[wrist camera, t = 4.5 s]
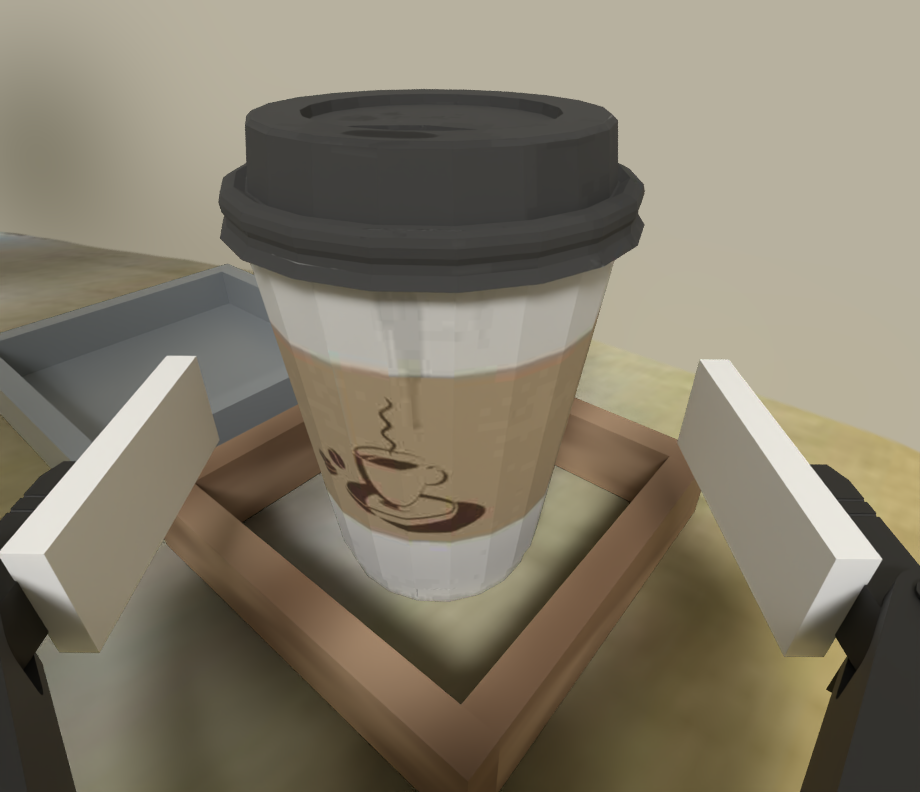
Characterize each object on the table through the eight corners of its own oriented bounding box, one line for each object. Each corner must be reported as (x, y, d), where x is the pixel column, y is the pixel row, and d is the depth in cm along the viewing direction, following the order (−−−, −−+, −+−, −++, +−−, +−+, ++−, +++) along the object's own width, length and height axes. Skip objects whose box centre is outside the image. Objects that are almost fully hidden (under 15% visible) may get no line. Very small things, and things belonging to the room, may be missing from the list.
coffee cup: (235, 626, 19) (72, 139, 11) (352, 426, 29) (311, 81, 20) (582, 691, 18) (698, 168, 9) (587, 456, 27) (646, 90, 19)
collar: (166, 544, 22) (143, 484, 21) (428, 385, 32) (426, 336, 30) (466, 839, 14) (468, 781, 13) (694, 511, 24) (712, 454, 22)
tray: (-17, 396, 31) (-44, 345, 29) (236, 305, 40) (227, 263, 39) (112, 534, 23) (85, 475, 21) (389, 379, 32) (385, 330, 31)
